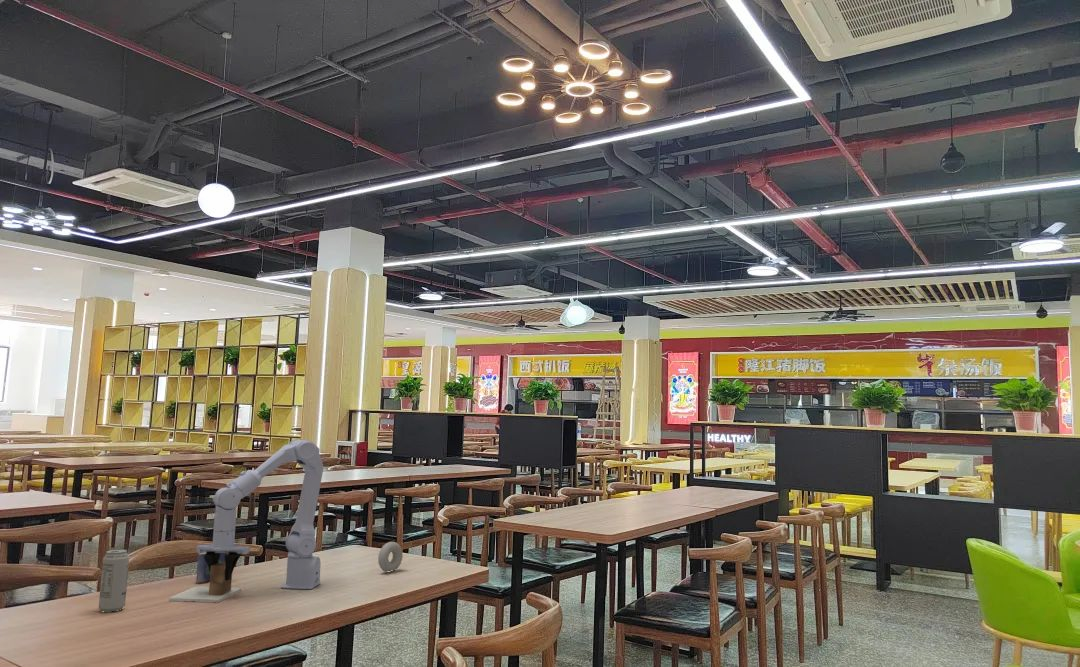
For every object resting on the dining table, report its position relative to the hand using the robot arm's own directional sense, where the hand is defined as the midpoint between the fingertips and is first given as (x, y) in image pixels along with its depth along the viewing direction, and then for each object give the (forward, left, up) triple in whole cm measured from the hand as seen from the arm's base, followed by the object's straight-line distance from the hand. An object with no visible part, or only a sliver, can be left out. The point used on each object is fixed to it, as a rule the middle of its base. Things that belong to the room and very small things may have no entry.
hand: (220, 579), depth 207 cm
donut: (-39, -39, -5) cm, 55 cm away
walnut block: (0, 0, -4) cm, 4 cm away
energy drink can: (+20, +18, -5) cm, 27 cm away
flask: (+12, -18, -5) cm, 22 cm away
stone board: (+4, 0, -5) cm, 6 cm away
